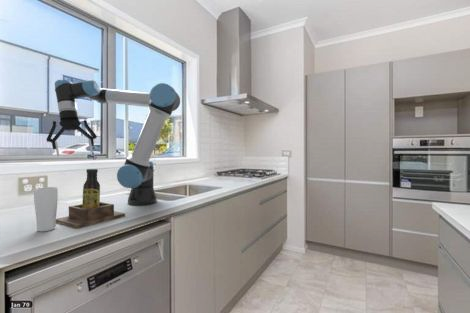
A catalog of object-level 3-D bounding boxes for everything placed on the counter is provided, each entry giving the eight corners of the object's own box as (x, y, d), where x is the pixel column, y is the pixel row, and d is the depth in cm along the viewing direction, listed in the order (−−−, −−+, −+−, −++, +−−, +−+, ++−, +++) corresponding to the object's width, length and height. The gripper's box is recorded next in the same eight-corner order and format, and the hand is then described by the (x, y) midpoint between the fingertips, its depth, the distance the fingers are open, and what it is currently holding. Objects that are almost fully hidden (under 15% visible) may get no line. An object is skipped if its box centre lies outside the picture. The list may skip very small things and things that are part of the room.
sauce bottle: (80, 218, 97) (79, 169, 96) (85, 214, 103) (84, 168, 102) (98, 217, 99) (97, 169, 98) (102, 213, 105) (101, 168, 104)
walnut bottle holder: (103, 211, 114) (103, 199, 114) (125, 216, 106) (125, 203, 106) (55, 222, 96) (55, 207, 96) (76, 228, 88) (76, 213, 88)
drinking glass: (62, 226, 90) (62, 187, 90) (49, 232, 84) (48, 190, 83) (44, 226, 90) (43, 187, 90) (29, 232, 83) (28, 190, 83)
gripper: (96, 114, 128) (103, 152, 126) (35, 114, 112) (42, 158, 111) (98, 109, 122) (105, 149, 121) (35, 109, 107) (42, 155, 105)
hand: (75, 154), depth 116 cm, fingers open, 13 cm apart
